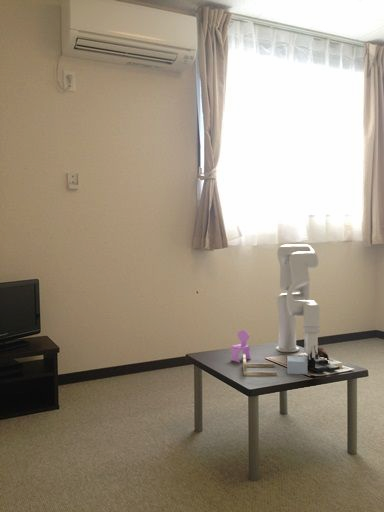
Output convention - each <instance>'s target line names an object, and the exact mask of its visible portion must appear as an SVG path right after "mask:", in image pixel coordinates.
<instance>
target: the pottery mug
mask: <svg viewBox="0 0 384 512" xmlns="http://www.w3.org/2000/svg"><path fill="white" fill-rule="evenodd" d="M320 357H324V358H323V359H325V358H327V360H329V361H330V357H329V355H328V353H327V351H325V350H324V348H323V347H320V346H319V347H318V354H317V355H316V354H315V360H319V358H320Z"/></svg>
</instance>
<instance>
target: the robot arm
mask: <svg viewBox="0 0 384 512" xmlns="http://www.w3.org/2000/svg"><path fill="white" fill-rule="evenodd" d="M276 255H277V260H278V264H279V289H281V291H284V293H283V292H282V293H280V294H278V295H277V296H276V306H277V315H278V316H277V317H278V319H277V320H278V345H277V346H276V347H275V350H276V351H278V352H281V353H296V352H299V350H300V347H299V346H297V318H296V317H302V325H303V326H302V329H303V330H302V332H303V334H304V340H303V341H304V342H303V343H304V346H303V347H304V348H303V350H304V352H305V354H306V355H307V369H316V359H315V354H316V355H317V354H318V346H319V341H318V337H319V336H318V335H319V334H320V333H321V331H320V330H321V328H320V327H321V325H320V323H321V322H320V320H321V319H320V318H321V317H320V316H321V315H320V313H321V312H320V311H321V310H320V307H321V306H320V304H319V303H317V302H316V301H315V300H314V299H310V281H311V277H310V272H309V269H315V268H317V267H318V266H319V256H318V254H317V252H316V251H315V249H314V248H312V246H311V245H309V244H282V245H280V246H278V248H277V252H276Z"/></svg>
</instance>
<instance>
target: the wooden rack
mask: <svg viewBox="0 0 384 512" xmlns="http://www.w3.org/2000/svg"><path fill="white" fill-rule="evenodd" d="M255 367H256V368H258V367H259V368H274V367H275V363H274V362H272V363H271V362H270V363H268V362H262V363H260V362H257V363H256V362H247V358H246V355H245V354H243V353H242V369H243V370H242V371H243V376H244V377H245V376H257V377H258V376H261V377H263V376H270V377H271V376H273V377H275V376H278V372H277V371H247V368H255Z"/></svg>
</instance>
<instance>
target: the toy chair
mask: <svg viewBox="0 0 384 512" xmlns="http://www.w3.org/2000/svg"><path fill="white" fill-rule="evenodd" d="M237 338H238V340H239V341H240V343H239V344H235V345H231V348H230V352H231V359H230V360H231V361H233V362H237V363H241V361H240V358H239V354H240V351H241V350H242V355H243V354H245V355H246V360H251V361H252V357H251V355H250V346H249V345H247V341H248V340H249V338H250V334H249V332H248V331H247V330H245V329H243V330H239V331H238V332H237Z"/></svg>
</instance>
